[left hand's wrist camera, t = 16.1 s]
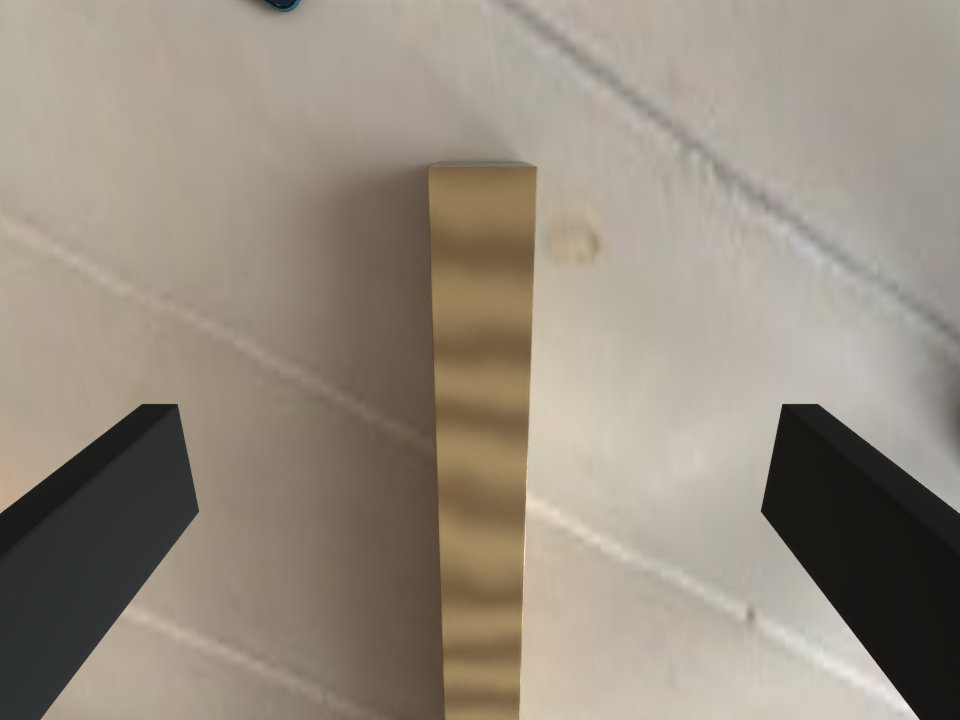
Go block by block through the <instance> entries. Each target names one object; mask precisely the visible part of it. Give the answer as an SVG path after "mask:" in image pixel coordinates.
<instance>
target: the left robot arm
mask: <svg viewBox="0 0 960 720" xmlns="http://www.w3.org/2000/svg"><path fill="white" fill-rule="evenodd" d="M198 512H199V509H198V504H197V499H196V494H195V489H194V484H193V479H192V474H191V469H190V464H189V459H188V454H187V449H186V444H185V439H184V434H183V429H182V424H181V419H180V414H179V409H178V404H142V405H140V406H139V407H138V408H136V409H135V410H134V411H133V412H131V413H130V414H129V415H127V416H126V417H125V418H124V419H122V420H121V421H120V422H118V423H117V424H116V425H114V426H113V427H112V428H111V429H109V430H108V431H107V432H105V433H104V434H103V435H102V436H100V437H99V438H98V439H96V440H95V441H94V442H92V443H91V444H90V445H89V446H87V447H86V448H85V449H83V450H82V451H81V452H79V453H78V454H77V455H76V456H74V457H73V458H72V459H70V460H69V461H68V462H67V463H65V464H64V465H63V466H61V467H60V468H59V469H57V470H56V471H55V472H54V473H52V474H51V475H50V476H48V477H47V478H46V479H45V480H43V481H42V482H41V483H39V484H38V485H37V486H35V487H34V488H33V489H32V490H30V491H29V492H28V493H26V494H25V495H24V496H22V497H21V498H20V499H19V500H17V501H16V502H15V503H13V504H12V505H11V506H10V507H8V508H7V509H6V510H4V511H3V512H2V513H0V720H40V719H41V718H42V717H43V715H44V714H45V713H46V711H47V710H48V709H49V708H50V706H51V705H52V704H53V702H54V701H55V700H56V698H57V697H58V696H59V694H60V693H61V692H62V690H63V689H64V688H65V687H66V685H67V684H68V683H69V681H70V680H71V679H72V677H73V676H74V675H75V673H76V672H77V671H78V670H79V668H80V667H81V666H82V664H83V663H84V662H85V660H86V659H87V658H88V656H89V655H90V654H91V652H92V651H93V650H94V649H95V647H96V646H97V645H98V643H99V642H100V641H101V639H102V638H103V637H104V635H105V634H106V633H107V632H108V630H109V629H110V628H111V626H112V625H113V624H114V622H115V621H116V620H117V618H118V617H119V616H120V614H121V613H122V612H123V611H124V609H125V608H126V607H127V605H128V604H129V603H130V601H131V600H132V599H133V597H134V596H135V595H136V593H137V592H138V591H139V590H140V588H141V587H142V586H143V584H144V583H145V582H146V580H147V579H148V578H149V576H150V575H151V574H152V573H153V571H154V570H155V569H156V567H157V566H158V565H159V563H160V562H161V561H162V559H163V558H164V557H165V555H166V554H167V553H168V552H169V550H170V549H171V548H172V546H173V545H174V544H175V542H176V541H177V540H178V538H179V537H180V536H181V535H182V533H183V532H184V531H185V529H186V528H187V527H188V525H189V524H190V523H191V521H192V520H193V519H194V517H195V516H196V515H197V514H198ZM761 512H762V514H763V515H764V516H765V517H766V519H767V520H768V521H769V523H770V524H771V525H772V527H773V528H774V529H775V531H776V532H777V533H778V535H779V536H780V537H781V538H782V540H783V541H784V542H785V544H786V545H787V546H788V548H789V549H790V550H791V552H792V553H793V554H794V555H795V557H796V558H797V559H798V561H799V562H800V563H801V565H802V566H803V567H804V569H805V570H806V571H807V573H808V574H809V575H810V576H811V578H812V579H813V580H814V582H815V583H816V584H817V586H818V587H819V588H820V590H821V591H822V592H823V593H824V595H825V596H826V597H827V599H828V600H829V601H830V603H831V604H832V605H833V607H834V608H835V609H836V611H837V612H838V613H839V614H840V616H841V617H842V618H843V620H844V621H845V622H846V624H847V625H848V626H849V628H850V629H851V630H852V632H853V633H854V634H855V635H856V637H857V638H858V639H859V641H860V642H861V643H862V645H863V646H864V647H865V649H866V650H867V651H868V652H869V654H870V655H871V656H872V658H873V659H874V660H875V662H876V663H877V664H878V666H879V667H880V668H881V670H882V671H883V672H884V673H885V675H886V676H887V677H888V679H889V680H890V681H891V683H892V684H893V685H894V687H895V688H896V689H897V690H898V692H899V693H900V694H901V696H902V697H903V698H904V700H905V701H906V702H907V704H908V705H909V706H910V708H911V709H912V710H913V711H914V713H915V714H916V715H917V717H918V718H919V719H920V720H960V513H958V512H957V511H956V510H954V509H953V508H952V507H950V506H949V505H948V504H947V503H945V502H944V501H943V500H941V499H940V498H939V497H938V496H936V495H935V494H934V493H932V492H931V491H930V490H928V489H927V488H926V487H925V486H923V485H922V484H921V483H919V482H918V481H917V480H915V479H914V478H913V477H912V476H910V475H909V474H908V473H906V472H905V471H904V470H903V469H901V468H900V467H899V466H897V465H896V464H895V463H893V462H892V461H891V460H890V459H888V458H887V457H886V456H884V455H883V454H882V453H881V452H879V451H878V450H877V449H875V448H874V447H873V446H871V445H870V444H869V443H868V442H866V441H865V440H864V439H862V438H861V437H860V436H858V435H857V434H856V433H855V432H853V431H852V430H851V429H849V428H848V427H847V426H846V425H844V424H843V423H842V422H840V421H839V420H838V419H836V418H835V417H834V416H833V415H831V414H830V413H829V412H827V411H826V410H825V409H824V408H822V407H821V406H820V405H818V404H782V409H781V414H780V419H779V424H778V429H777V434H776V439H775V444H774V449H773V454H772V459H771V464H770V469H769V474H768V479H767V484H766V489H765V494H764V499H763V504H762V509H761Z"/></svg>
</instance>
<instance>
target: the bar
mask: <svg viewBox="0 0 960 720" xmlns="http://www.w3.org/2000/svg"><path fill="white" fill-rule="evenodd" d="M536 191H537V167H535V166H533V165H531V164H528V163H526V162H438V163H436V164H434V165H432V166H430V167H428V199H429V232H430V264H431V296H432V329H433V361H434V394H435V426H436V458H437V491H438V523H439V555H440V588H441V620H442V652H443V685H444V717H445V720H519V719H520V688H521V657H522V626H523V595H524V564H525V532H526V501H527V470H528V439H529V408H530V377H531V346H532V315H533V284H534V253H535V222H536Z"/></svg>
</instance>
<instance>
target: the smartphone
mask: <svg viewBox="0 0 960 720" xmlns="http://www.w3.org/2000/svg"><path fill="white" fill-rule="evenodd" d="M262 1H264V2H265V3H267V4H268V5H270V6H272V7H273V8H275V9H276V10H279V11H282V12H289V11H291V10H293V9H294V8H295V7H296V6H297V5H298V4H299V2H300V0H262Z"/></svg>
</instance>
